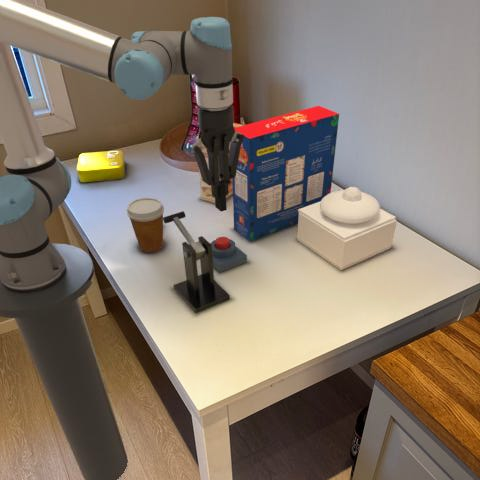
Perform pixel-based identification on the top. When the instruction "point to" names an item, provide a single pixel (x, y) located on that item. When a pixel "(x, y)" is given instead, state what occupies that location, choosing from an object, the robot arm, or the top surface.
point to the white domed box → (346, 227)
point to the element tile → (101, 166)
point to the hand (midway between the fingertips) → (221, 208)
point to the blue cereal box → (283, 169)
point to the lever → (186, 233)
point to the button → (222, 243)
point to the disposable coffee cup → (147, 223)
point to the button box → (227, 257)
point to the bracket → (200, 280)
